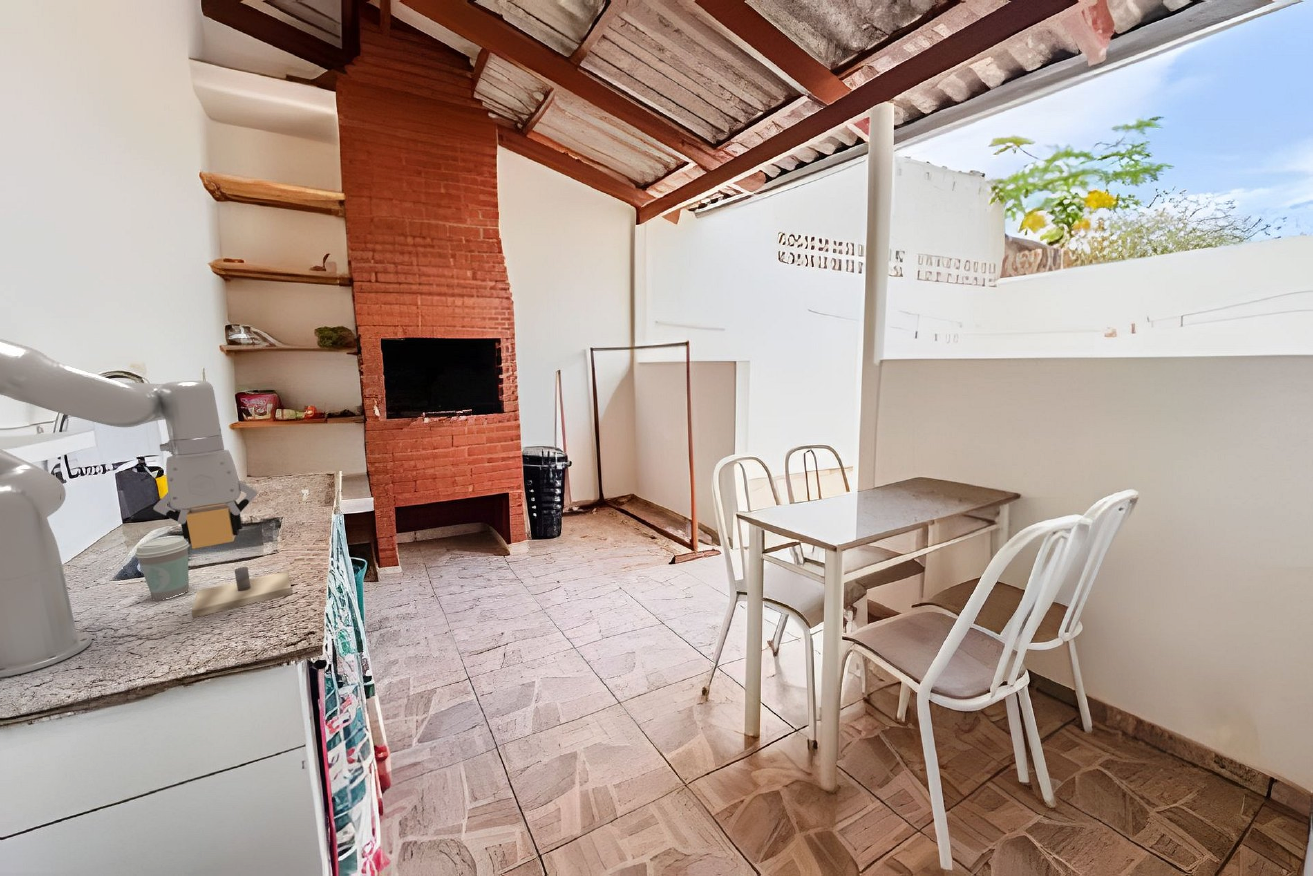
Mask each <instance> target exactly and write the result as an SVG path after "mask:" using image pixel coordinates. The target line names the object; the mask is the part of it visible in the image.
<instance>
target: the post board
mask: <svg viewBox="0 0 1313 876" xmlns="http://www.w3.org/2000/svg"><path fill="white" fill-rule="evenodd" d="M289 572H290V571H289V570H286V571H284V570H283V571H280V572H277V573H272V574H267V575H262V576H258V577H254V578H250V574H249V569H248V567H247V566H242V567H238V568H235V569H234V576H235V581H233V582H230V583H225V584H221V585H216V586H213V587H207V588H204V589H198V590H197V592H196V595H195V599H194V601H193V604H192V605H193V606H192V609H191V613H192V618H194V617H195V618H197V617H198V616H199V617H203V616H207V615H211V614H215V613H219V612H223V611H227V610H231V609H236V608H239V607H244V606H247V604H248V605H252V604H256V603H255V602H257V603H259V602H264V600H265V601H268V600H272V599H276V598H281V597H285V596H288V595H289V596H290V595H292V593H293V591H292V586H291V584H292V583H291V577H290V573H289ZM235 607H236V608H235Z"/></svg>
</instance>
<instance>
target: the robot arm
mask: <svg viewBox="0 0 1313 876" xmlns="http://www.w3.org/2000/svg"><path fill="white" fill-rule="evenodd" d="M215 395H216V394H215V390H214V387H213V385H212V384H211V383H210V382H208V381H205V380H185V381H184V380H183V381H171V382H166V383H144V382H124V381H123V382H122V381H118V380H115V379H113V378H112V379H111V378H108V377H105V376H102V375H98V374H95V373H91V372H88V371H84V370H81V369H78V368H75V367H72V366H69V365H66V364H64V363H61V362H59V361H56V360H54V359H53V358H50V357H48V356H47V355H46V354H44V353H43V352H41V351H39V350H37V349H34V348H32V347H29V346H26V345H23V344H19V343H16V342H12V341H9V340H7V339H3V338H0V396H4V397H8V398H10V399H12V400H14V401H17V402H21V403H22V402H23V403H26V404H29V405H33V406H36V407H39V408H43V409H46V410H48V411H52V412H55V413H59V414H62V415H67V416H70V417H74V418H78V419H81V420H86V421H88V422H92V423H96V424H97V423H98V424H100V425H105V426H111V427H114V428H133V427H137V426H141V425H144V424H147V423H152V422H157V421H163V420H165V425H166V430H167V433H168V434H167V435H168V439H169V440H168V441H167V442H165V443H160V444H159V450H160V452H169V453H170V455H171V456H168V457H166V465H165V467H166V471H165V472H166V473H165V474H166V485H167V493H165V494H164V496H162V497H161V498H160V500H159V501H157V503H156V504H155V505H154V506H153V510H154V511H155V512H157V513H160V514H161V515H164V516H166V518H169V519H172V521H175V522H177V523H178V524H180V526H181V531H182V537H184V539H186V540H187V542H188V544H189V545H192V544H191V539H190V534H189V529H188V523H187V518H186V515H187V513H189V512H190V511H191V509H193V508H200V507H206V506H213V505H220V504H226V506H227V507H229V510H230V511H231V516H230V519H231V525H232V530H233V535H234V536H235V535H236V536H238V535H239V534H240V530H243V524H242V518H241V517H242V516H241V512H242V511H243V510H244V509H245V508H246V507H247V506H249V504H250V502H252V501H253V500H254V499H255V498H256V497H257V496H258V490H256V489H255V488H253V487H252V486H249V485H247V484H246V483H244V482H242V481H240V480H239V476H238V471H237V469H236V465H235V462H234V460H233V457H232V454H231V452H230V451H229V449H225V445H224V439H223V433H222V429H221V423H220V419H219V418H220V417H219V413H218V412H219V411H218V407H217V406H218V405H217V400H216V396H215ZM241 492H243V493H244V494H246V495H245V496H244V498H242V499H241V501H239V502H237V500H238V499H239V498H240V495H241V494H242V493H241ZM66 494H67V493H66V488H65V486H64V484H63V483H62V481H61V480H60V479H59V478H58V477H57V476H55V475H53V474H52V473H50V472H48V470H47V471H46V470H45V469H44V468H41V467H39V466H37V465H35V464H33V463H30V462H28V461H26V460H25V459H22V458H20V457H18V456H16V455H13V454H12V453H9V452H8V451H6V450H3V449H0V678H5V677H12V676H16V675H21V674H25V673H26V674H27V673H29V672H33V671H36V670H39V669H43V668H45V667H49V666H52V665H54V664H56V663H60V662H62V661H65V660H66V659H69V658H71V657H73V656H75V655H77V654H78V653H81V652H82V651H83V650H85V649H87V648H88V647H89V646H90V645H91V644H92V640H93V639H92V637H91V634H90V633H87V632H82V631H81V632H79V631H77V628H76V624H75V623H76V621H75V617H74V614H73V609H72V604H71V599H70V595H69V591H68V586H67V581H66V575H65V571H64V567H63V563H62V558H61V554H60V550H59V545H58V542H57V539H56V537H55V535H54V533H53V530H52V528H51V526H50V523H49V520H48V519H49V518H48V517H50V516H51V515H53V514H54V513H56V512H57V511H59V509H60V508H61V507H62V506H63V504H64V502H65V500H66ZM168 504H170V506H168ZM236 536H235V537H236Z"/></svg>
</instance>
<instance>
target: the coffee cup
mask: <svg viewBox="0 0 1313 876" xmlns="http://www.w3.org/2000/svg"><path fill="white" fill-rule="evenodd" d="M190 545H191V544H189V541H188V540H187V539H184V537H183V535H182V536H179V535H176V536H167V537H161V538H156V539H153V540H152V539H151V540H148V541H146V542H145V541H144V542H142V543H140V544H138V546H137V547H136V551H135V555H134V556H135V558H137V559H138V563H139V565H140V568H141V571H142V573H143V574H142V575H143V576H144V579H145V582H146V584H147V588H148V589H149V593H150V595H151V598H152V600H153V599H154V600H153V601H156V600H160V601H164V600H163V599H166V598H170V597H173V596H175V595H179V594H181V593H184V592H186V591H188V589H189V590H190V585H189V581H190V580H189V579H190V578H189V547H190ZM188 592H189V591H188Z"/></svg>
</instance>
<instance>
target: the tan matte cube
mask: <svg viewBox="0 0 1313 876" xmlns="http://www.w3.org/2000/svg"><path fill="white" fill-rule="evenodd" d="M230 516H231V511H230V510H229V507H227V506H226V504H220V505H213V506H206V507H200V508H193V509H191V511H190V512H189V513H187V515H186V518H187V523H188V529H189V534H190V539H191V544H190V545H191V548H192V549H194V550H195V549H199V548H204V547H209V546H216V545H220V544H222V545H223V544H226V543H232V542H234V541H235V539H236V536H237V535H235V536H234V535H233V530H232V525H231V519H230Z"/></svg>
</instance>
